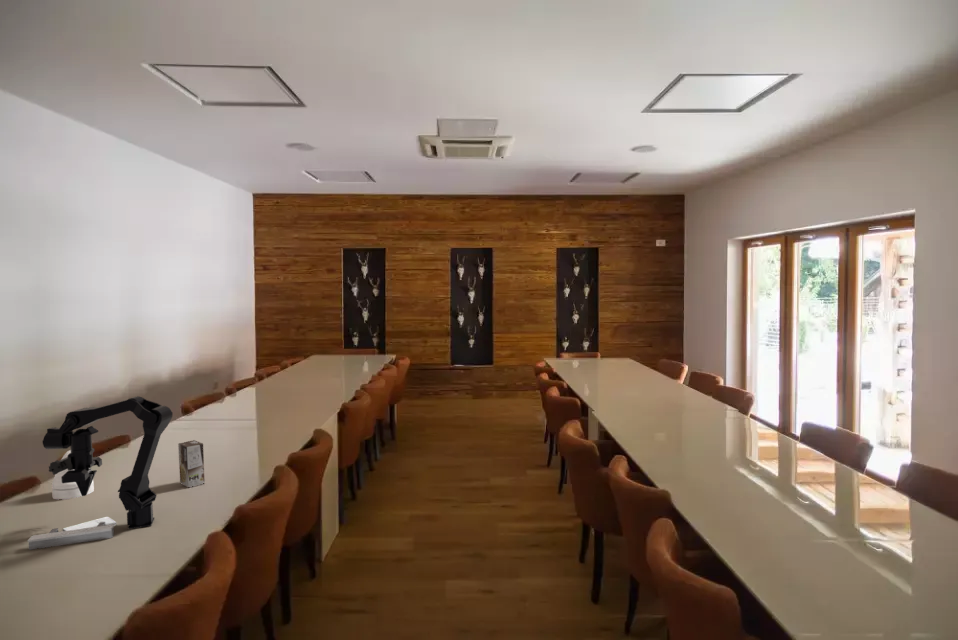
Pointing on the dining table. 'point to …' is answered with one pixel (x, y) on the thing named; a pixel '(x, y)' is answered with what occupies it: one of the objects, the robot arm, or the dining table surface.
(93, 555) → the dining table surface
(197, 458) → the coffee box
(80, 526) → the external hard drive
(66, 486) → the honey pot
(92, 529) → the grey door handle
